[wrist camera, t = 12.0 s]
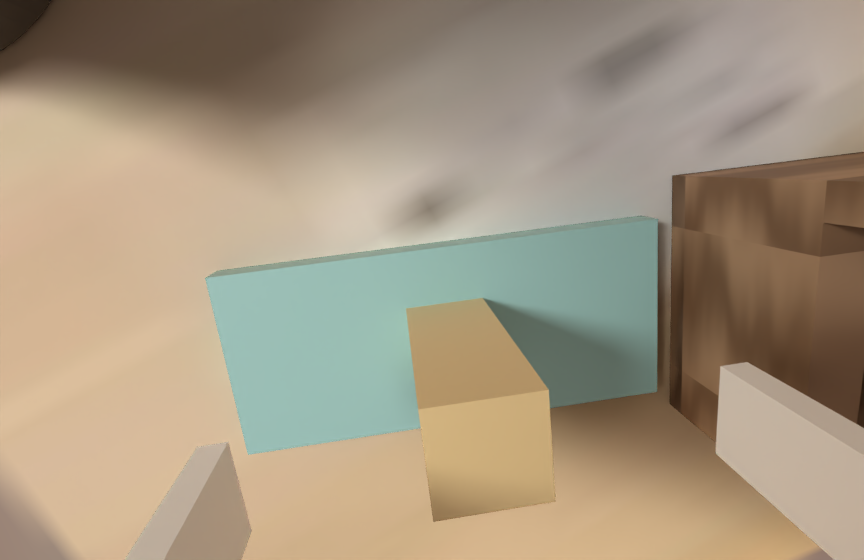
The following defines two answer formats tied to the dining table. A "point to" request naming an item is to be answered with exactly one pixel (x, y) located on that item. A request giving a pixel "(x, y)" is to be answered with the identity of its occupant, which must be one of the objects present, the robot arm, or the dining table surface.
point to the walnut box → (769, 282)
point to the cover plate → (359, 332)
